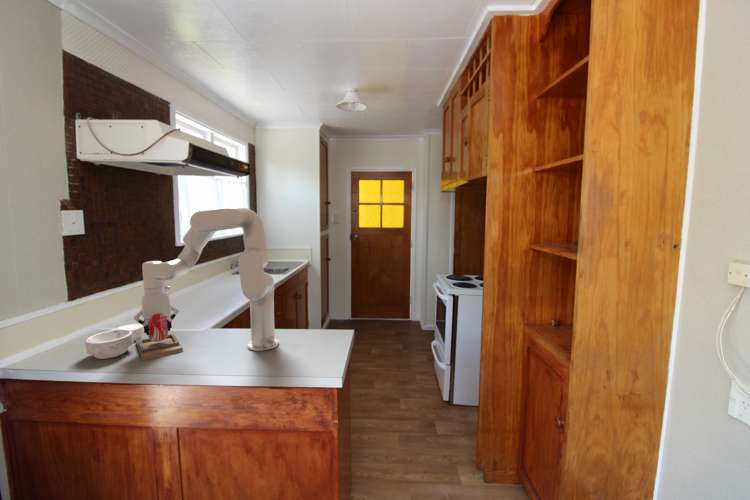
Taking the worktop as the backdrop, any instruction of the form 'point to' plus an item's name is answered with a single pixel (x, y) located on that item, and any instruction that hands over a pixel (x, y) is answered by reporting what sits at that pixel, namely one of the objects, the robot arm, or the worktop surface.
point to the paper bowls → (109, 343)
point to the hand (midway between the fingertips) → (158, 331)
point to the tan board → (159, 351)
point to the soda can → (158, 327)
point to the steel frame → (159, 345)
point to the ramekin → (133, 330)
